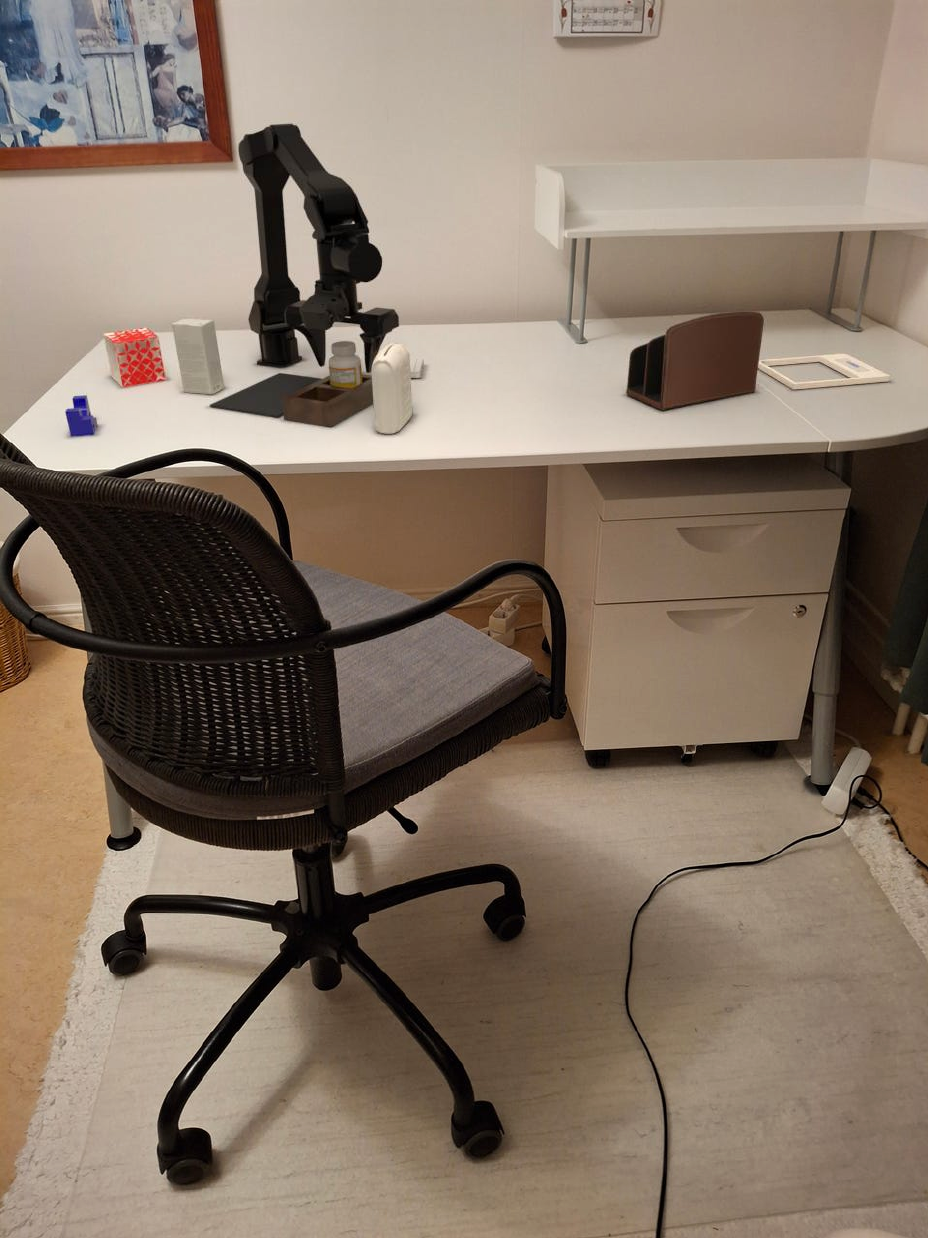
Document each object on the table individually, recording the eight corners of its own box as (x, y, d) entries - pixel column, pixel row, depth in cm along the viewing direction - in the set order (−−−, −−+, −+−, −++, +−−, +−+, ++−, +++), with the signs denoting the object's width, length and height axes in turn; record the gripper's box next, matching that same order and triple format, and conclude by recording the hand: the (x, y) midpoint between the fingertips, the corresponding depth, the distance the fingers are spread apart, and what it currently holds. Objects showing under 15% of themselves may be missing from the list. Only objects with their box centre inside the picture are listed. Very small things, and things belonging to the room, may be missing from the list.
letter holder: (755, 392, 163) (767, 307, 156) (661, 411, 156) (669, 323, 149) (717, 377, 171) (726, 295, 164) (625, 395, 163) (631, 310, 156)
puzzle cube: (166, 380, 176) (158, 336, 172) (122, 387, 173) (113, 343, 169) (154, 369, 182) (146, 327, 178) (112, 376, 179) (103, 333, 175)
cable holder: (94, 434, 152) (88, 410, 150) (71, 436, 151) (65, 411, 149) (101, 418, 158) (96, 394, 156) (79, 419, 158) (73, 396, 156)
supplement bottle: (346, 394, 167) (341, 337, 162) (370, 399, 164) (366, 342, 159) (325, 402, 163) (320, 345, 158) (349, 408, 160) (345, 349, 155)
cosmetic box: (225, 388, 171) (215, 319, 165) (212, 395, 168) (201, 325, 162) (196, 385, 173) (184, 317, 167) (182, 392, 170) (170, 323, 163)
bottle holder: (283, 419, 156) (281, 398, 154) (339, 390, 169) (338, 370, 167) (331, 427, 152) (329, 405, 151) (385, 396, 165) (383, 376, 163)
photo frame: (890, 374, 166) (794, 382, 163) (889, 381, 167) (793, 389, 164) (845, 352, 179) (755, 359, 176) (844, 358, 179) (754, 365, 176)
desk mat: (210, 407, 162) (209, 404, 162) (279, 374, 178) (279, 372, 177) (278, 417, 157) (277, 415, 157) (344, 383, 172) (343, 381, 172)
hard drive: (351, 370, 173) (420, 369, 173) (357, 358, 180) (423, 357, 180) (352, 379, 174) (420, 378, 174) (358, 366, 181) (423, 365, 181)
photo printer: (390, 412, 158) (385, 336, 152) (415, 414, 157) (412, 337, 151) (372, 434, 149) (366, 354, 143) (398, 435, 149) (394, 355, 142)
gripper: (258, 277, 150) (270, 375, 158) (361, 286, 143) (368, 389, 151) (299, 264, 159) (309, 358, 167) (398, 272, 152) (403, 370, 160)
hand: (345, 369), depth 161 cm, fingers open, 9 cm apart
